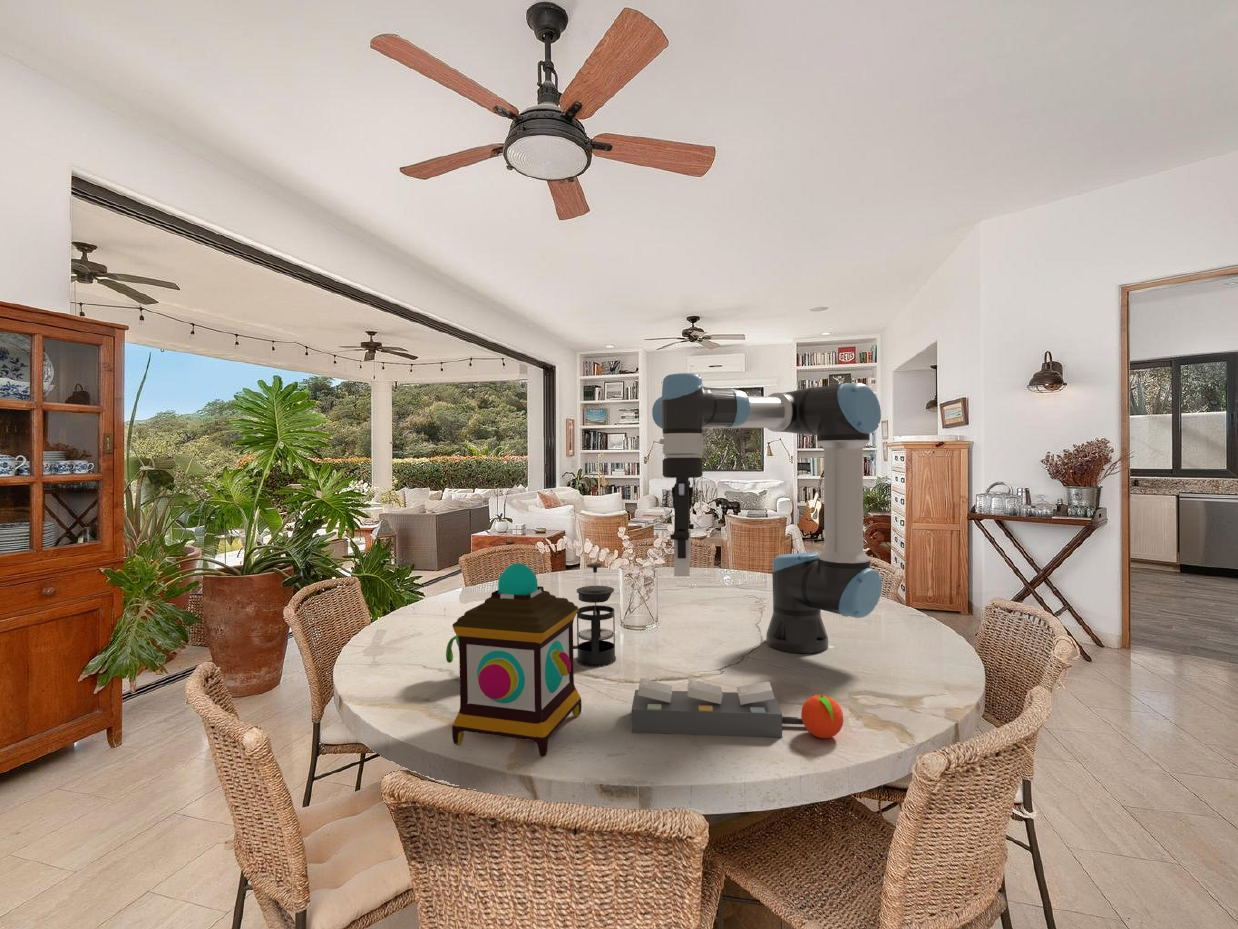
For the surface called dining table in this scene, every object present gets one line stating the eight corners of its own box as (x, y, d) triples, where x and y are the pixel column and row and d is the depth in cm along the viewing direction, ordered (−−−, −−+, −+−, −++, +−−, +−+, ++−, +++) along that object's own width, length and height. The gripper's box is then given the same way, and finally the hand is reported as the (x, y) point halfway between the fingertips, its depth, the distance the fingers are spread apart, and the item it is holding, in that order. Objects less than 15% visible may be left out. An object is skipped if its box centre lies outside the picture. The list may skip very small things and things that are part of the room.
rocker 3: (771, 690, 110) (768, 680, 110) (774, 698, 106) (772, 689, 106) (738, 695, 111) (736, 686, 111) (740, 704, 107) (738, 695, 107)
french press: (618, 653, 149) (617, 560, 148) (618, 666, 139) (617, 567, 139) (571, 653, 149) (569, 560, 148) (567, 667, 139) (566, 568, 139)
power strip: (807, 715, 112) (807, 692, 112) (818, 738, 103) (817, 713, 103) (635, 710, 115) (635, 688, 115) (631, 732, 107) (631, 708, 106)
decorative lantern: (497, 701, 121) (494, 552, 120) (591, 712, 115) (588, 555, 114) (440, 749, 101) (436, 571, 101) (549, 765, 96) (546, 576, 95)
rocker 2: (719, 695, 111) (721, 686, 111) (720, 704, 107) (722, 694, 107) (687, 687, 112) (689, 678, 112) (687, 696, 108) (689, 686, 108)
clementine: (853, 748, 100) (853, 705, 100) (813, 750, 99) (812, 707, 99) (833, 726, 108) (832, 686, 108) (795, 728, 107) (794, 688, 107)
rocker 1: (670, 693, 112) (672, 684, 112) (670, 702, 108) (672, 693, 108) (639, 686, 113) (640, 677, 113) (637, 694, 109) (639, 685, 109)
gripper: (666, 456, 127) (666, 557, 127) (657, 456, 102) (658, 582, 102) (702, 456, 126) (702, 558, 126) (702, 456, 101) (703, 583, 101)
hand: (683, 569), depth 114 cm, fingers open, 13 cm apart
